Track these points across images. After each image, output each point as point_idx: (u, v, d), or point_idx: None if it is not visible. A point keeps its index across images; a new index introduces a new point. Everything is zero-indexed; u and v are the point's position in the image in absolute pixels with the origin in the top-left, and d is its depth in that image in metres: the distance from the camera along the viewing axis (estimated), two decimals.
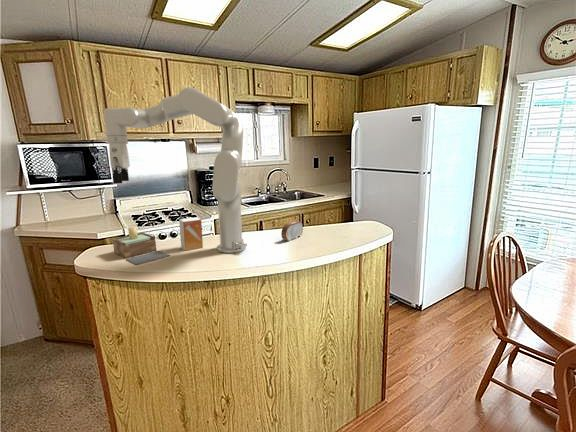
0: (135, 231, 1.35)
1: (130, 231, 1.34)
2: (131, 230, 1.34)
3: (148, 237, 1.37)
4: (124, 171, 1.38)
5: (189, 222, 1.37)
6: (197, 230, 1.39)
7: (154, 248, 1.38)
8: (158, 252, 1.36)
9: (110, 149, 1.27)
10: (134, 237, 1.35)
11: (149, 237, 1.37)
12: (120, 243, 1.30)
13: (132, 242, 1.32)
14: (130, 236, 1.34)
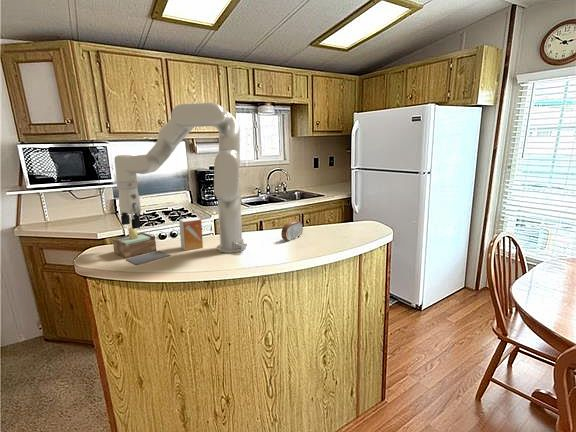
0: (135, 231, 1.35)
1: (130, 231, 1.34)
2: (131, 230, 1.34)
3: (148, 237, 1.37)
4: (126, 215, 1.37)
5: (189, 222, 1.37)
6: (197, 230, 1.39)
7: (154, 248, 1.38)
8: (158, 252, 1.36)
9: (129, 196, 1.28)
10: (134, 237, 1.35)
11: (149, 237, 1.37)
12: (120, 243, 1.30)
13: (132, 242, 1.32)
14: (130, 236, 1.34)
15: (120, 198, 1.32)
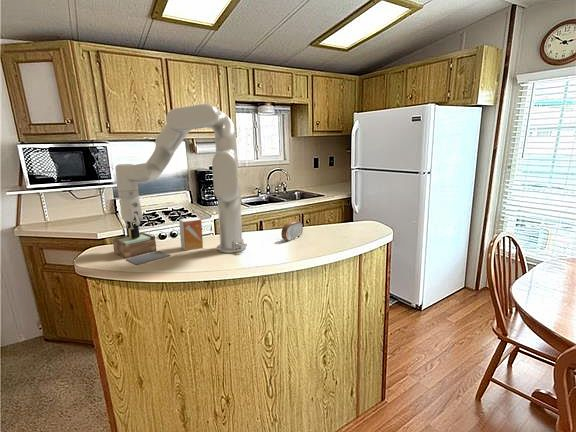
0: None
1: (130, 231, 1.34)
2: None
3: (148, 237, 1.37)
4: (131, 225, 1.36)
5: (189, 222, 1.37)
6: (197, 230, 1.39)
7: (154, 248, 1.38)
8: (158, 252, 1.36)
9: (130, 204, 1.29)
10: None
11: (149, 237, 1.37)
12: (120, 243, 1.30)
13: (132, 242, 1.32)
14: (130, 236, 1.34)
15: (122, 207, 1.33)
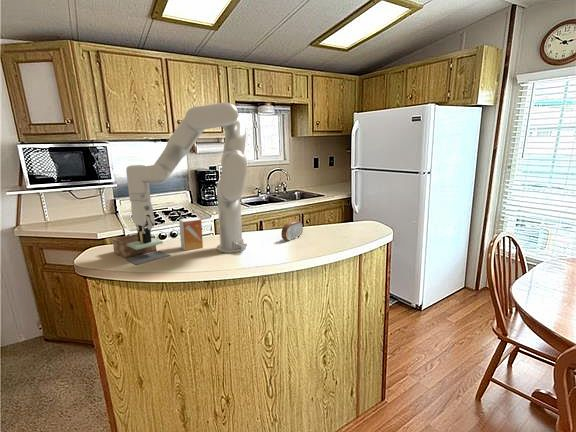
0: None
1: (141, 235, 1.28)
2: None
3: (160, 241, 1.31)
4: (142, 229, 1.30)
5: (189, 222, 1.37)
6: (197, 230, 1.39)
7: (154, 248, 1.38)
8: (158, 252, 1.36)
9: (142, 207, 1.23)
10: None
11: (161, 241, 1.31)
12: (120, 243, 1.30)
13: (144, 246, 1.26)
14: (141, 240, 1.28)
15: (133, 210, 1.26)
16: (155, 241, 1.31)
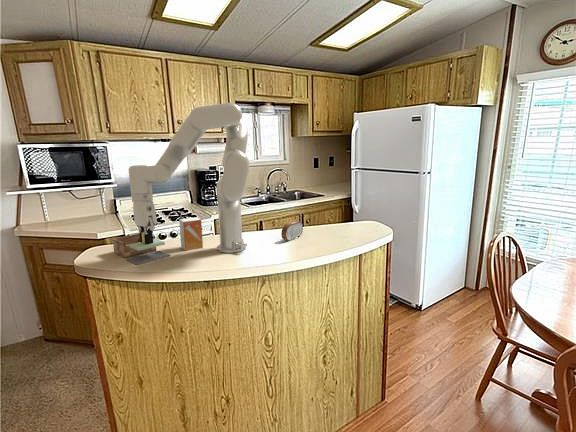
0: None
1: (143, 235, 1.26)
2: (144, 234, 1.26)
3: (162, 242, 1.30)
4: None
5: (189, 222, 1.37)
6: (197, 230, 1.39)
7: (154, 248, 1.38)
8: (158, 252, 1.36)
9: (144, 208, 1.21)
10: None
11: (163, 242, 1.30)
12: (120, 243, 1.30)
13: (146, 247, 1.24)
14: (143, 241, 1.27)
15: (135, 210, 1.25)
16: (157, 242, 1.29)
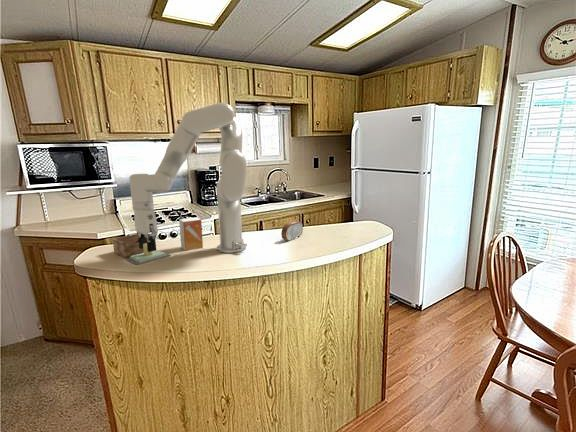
0: None
1: (145, 247, 1.27)
2: (146, 246, 1.27)
3: (163, 253, 1.31)
4: (143, 237, 1.30)
5: (189, 222, 1.37)
6: (197, 230, 1.39)
7: None
8: None
9: (145, 216, 1.22)
10: (149, 253, 1.28)
11: (164, 253, 1.31)
12: (120, 243, 1.30)
13: (147, 259, 1.25)
14: (145, 252, 1.28)
15: (136, 219, 1.26)
16: (158, 253, 1.30)
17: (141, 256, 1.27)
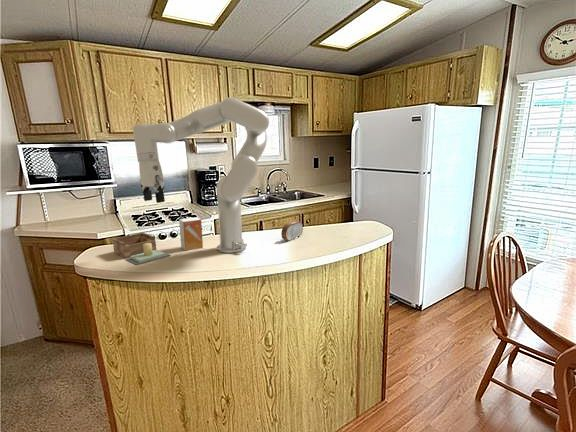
0: (150, 247, 1.28)
1: (145, 247, 1.27)
2: (146, 246, 1.27)
3: (163, 253, 1.31)
4: (148, 190, 1.29)
5: (189, 222, 1.37)
6: (197, 230, 1.39)
7: (154, 248, 1.38)
8: None
9: (151, 167, 1.20)
10: (149, 253, 1.28)
11: (164, 253, 1.31)
12: (120, 243, 1.30)
13: (147, 259, 1.25)
14: (145, 252, 1.28)
15: (141, 171, 1.24)
16: (158, 253, 1.30)
17: (141, 256, 1.27)
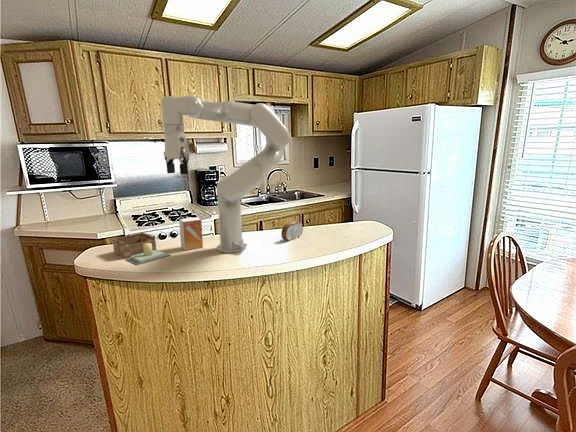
0: (150, 247, 1.28)
1: (145, 247, 1.27)
2: (146, 246, 1.27)
3: (163, 253, 1.31)
4: (171, 163, 1.32)
5: (189, 222, 1.37)
6: (197, 230, 1.39)
7: (154, 248, 1.38)
8: None
9: (177, 139, 1.23)
10: (149, 253, 1.28)
11: (164, 253, 1.31)
12: (120, 243, 1.30)
13: (147, 259, 1.25)
14: (145, 252, 1.28)
15: (167, 143, 1.26)
16: (158, 253, 1.30)
17: (141, 256, 1.27)
